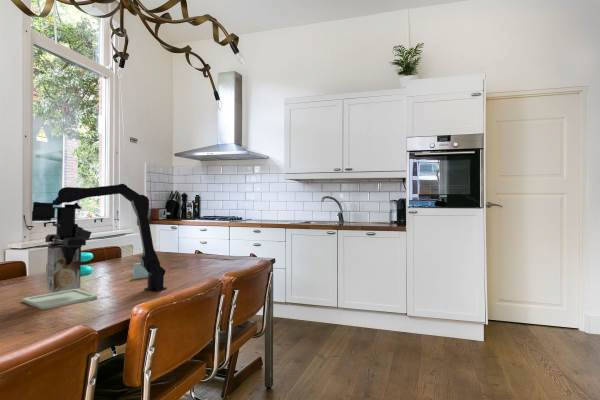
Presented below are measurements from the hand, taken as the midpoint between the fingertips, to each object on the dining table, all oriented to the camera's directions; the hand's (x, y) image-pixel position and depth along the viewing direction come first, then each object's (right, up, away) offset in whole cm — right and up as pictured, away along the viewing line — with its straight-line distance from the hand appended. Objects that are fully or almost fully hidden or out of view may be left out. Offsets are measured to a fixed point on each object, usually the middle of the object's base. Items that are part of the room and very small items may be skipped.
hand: (64, 263), depth 136 cm
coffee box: (0, -10, 0) cm, 10 cm away
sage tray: (-1, -13, -1) cm, 13 cm away
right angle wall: (+9, -14, +45) cm, 48 cm away
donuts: (-21, -13, +45) cm, 51 cm away
